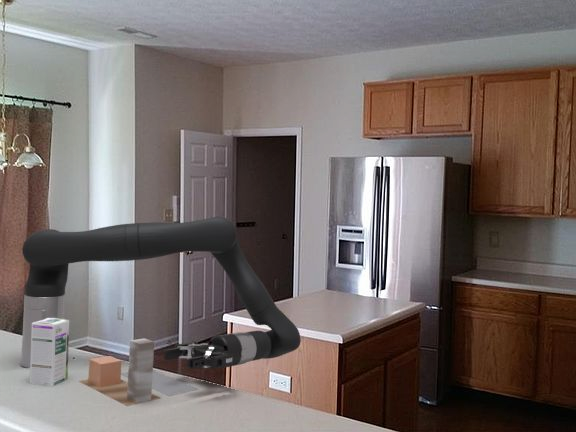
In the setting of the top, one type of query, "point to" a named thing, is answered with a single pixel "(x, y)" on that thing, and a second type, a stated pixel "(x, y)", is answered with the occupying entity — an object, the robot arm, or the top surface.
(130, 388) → the base with upright panel
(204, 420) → the top surface
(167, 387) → the grey flat slab
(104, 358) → the terracotta block
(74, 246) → the robot arm
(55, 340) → the syrup box
